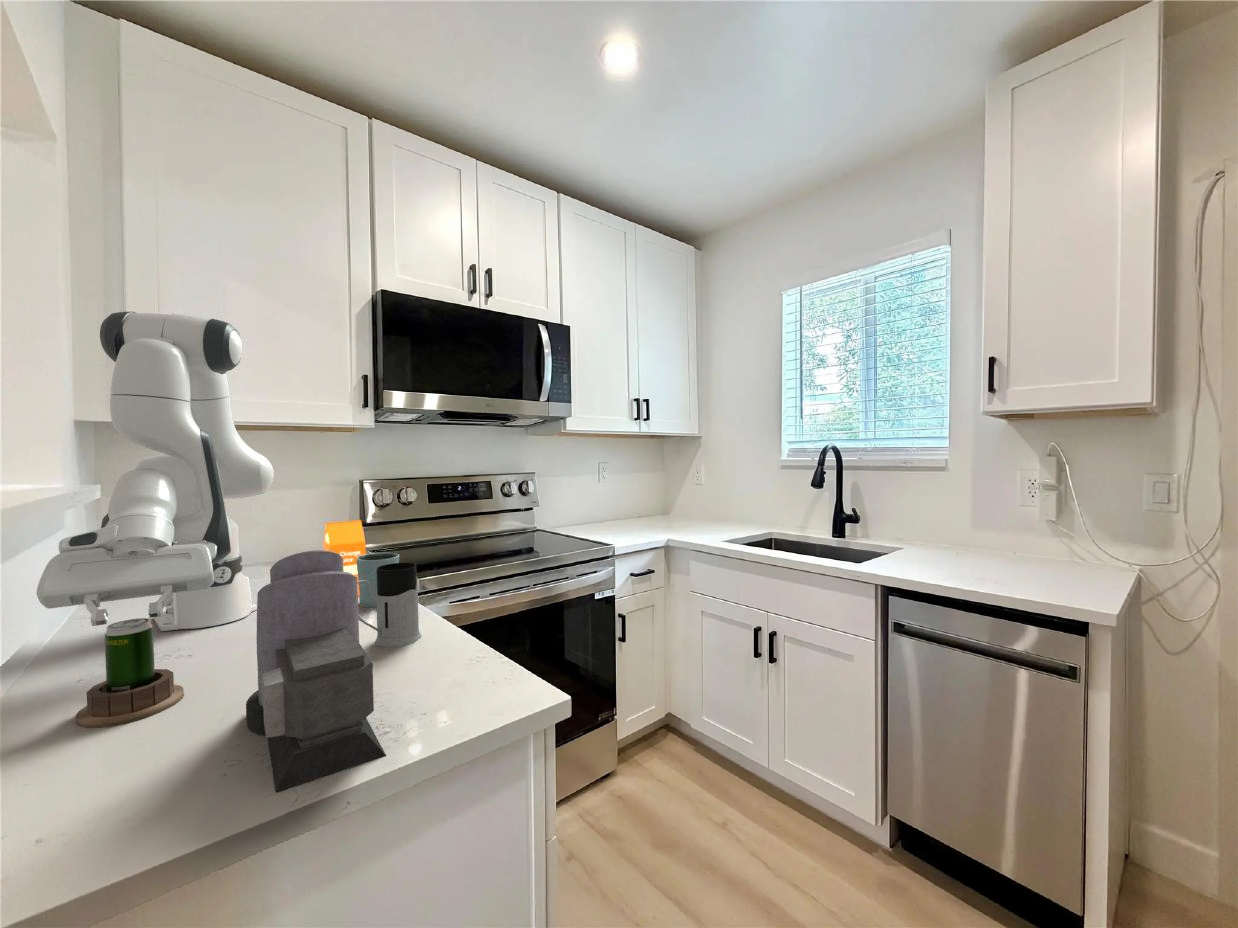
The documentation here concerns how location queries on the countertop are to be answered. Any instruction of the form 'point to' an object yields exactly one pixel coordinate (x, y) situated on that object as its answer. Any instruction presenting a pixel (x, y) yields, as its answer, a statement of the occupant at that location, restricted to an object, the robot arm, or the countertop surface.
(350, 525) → the orange juice
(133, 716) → the collar coaster
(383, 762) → the countertop surface
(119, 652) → the beer can
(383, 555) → the teal cup
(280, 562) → the juicer
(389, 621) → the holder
